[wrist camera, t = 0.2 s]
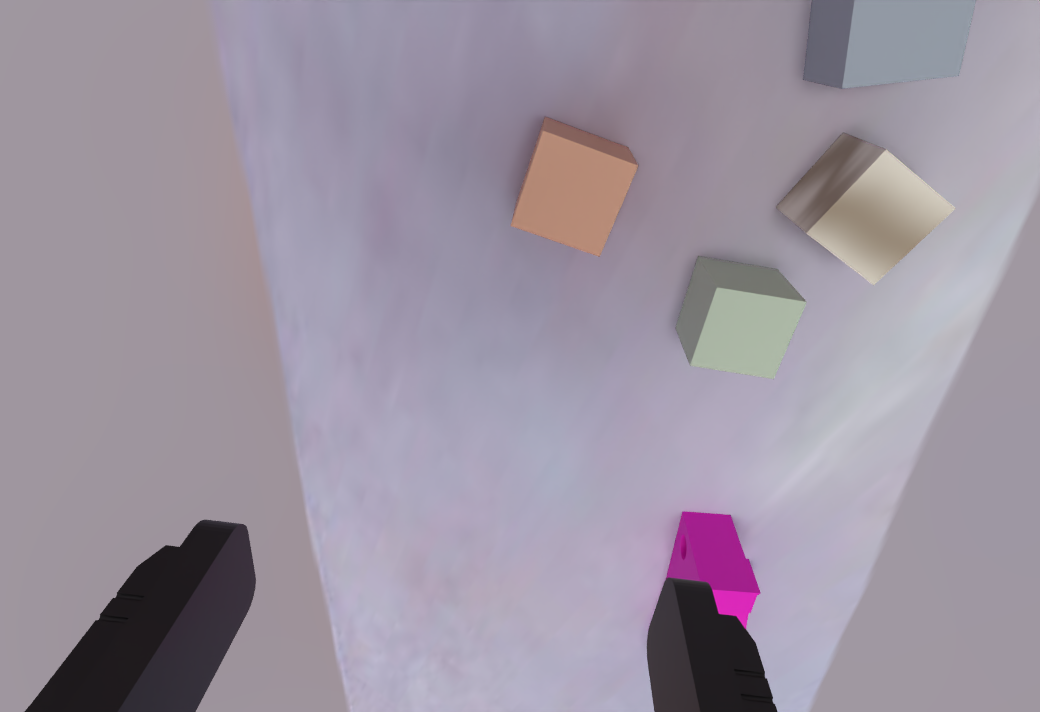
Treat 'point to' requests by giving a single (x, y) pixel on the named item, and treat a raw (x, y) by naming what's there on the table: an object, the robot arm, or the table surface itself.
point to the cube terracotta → (573, 187)
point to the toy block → (715, 562)
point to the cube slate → (885, 41)
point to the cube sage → (738, 317)
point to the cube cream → (864, 206)
